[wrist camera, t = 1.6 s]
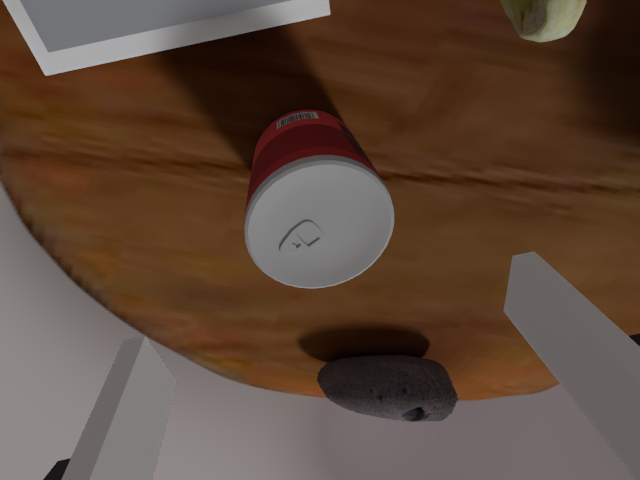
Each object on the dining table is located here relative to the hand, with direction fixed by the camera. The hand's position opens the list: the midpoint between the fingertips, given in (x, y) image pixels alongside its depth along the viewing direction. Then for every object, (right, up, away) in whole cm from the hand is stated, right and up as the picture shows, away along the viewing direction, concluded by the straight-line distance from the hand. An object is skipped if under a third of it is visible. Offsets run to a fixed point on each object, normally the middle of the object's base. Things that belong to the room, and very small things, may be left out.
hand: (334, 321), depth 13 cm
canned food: (-2, +9, +15) cm, 17 cm away
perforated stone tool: (+6, -11, +29) cm, 32 cm away
